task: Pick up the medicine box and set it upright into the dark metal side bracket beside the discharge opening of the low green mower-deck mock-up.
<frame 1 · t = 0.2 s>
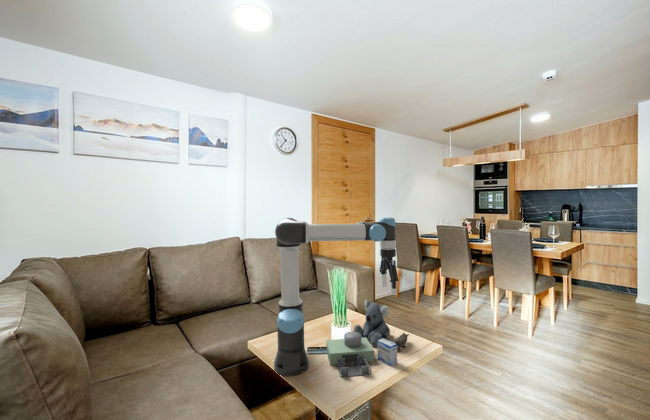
hand: (388, 290, 148), 27 cm above the table, fingers open, 13 cm apart
medicine box: (387, 361, 133), on the table
koala plush: (374, 338, 156), on the table
rhino figurine: (402, 346, 147), on the table
chute bracket: (352, 370, 126), on the table
mower deck: (349, 355, 139), on the table
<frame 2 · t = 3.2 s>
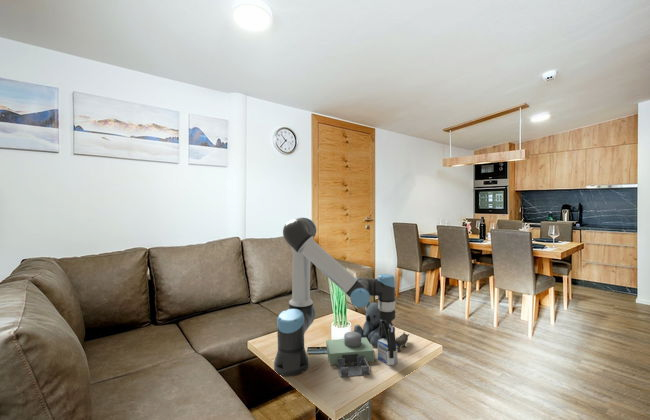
hand: (387, 358, 133), 1 cm above the table, fingers closed on medicine box, 9 cm apart
medicine box: (387, 361, 134), on the table, touching gripper
everything else where it was.
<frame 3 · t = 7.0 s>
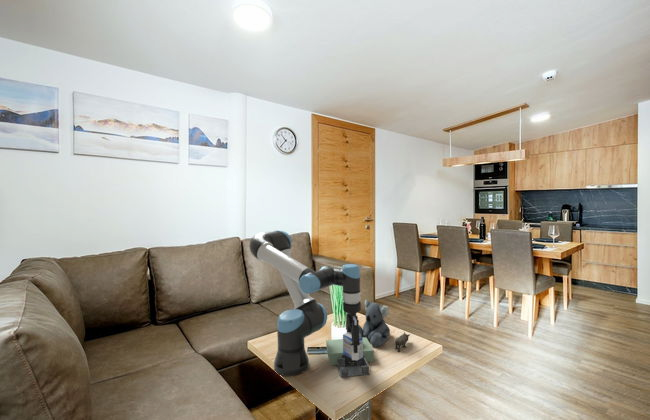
hand: (352, 353, 126), 7 cm above the table, fingers closed on medicine box, 9 cm apart
medicine box: (352, 356, 126), point 6 cm above the table, touching gripper
everything else where it was.
when the fingers open (3 cm above the table, at t = 8.3 s): medicine box stays where it is, point 2 cm above the table.
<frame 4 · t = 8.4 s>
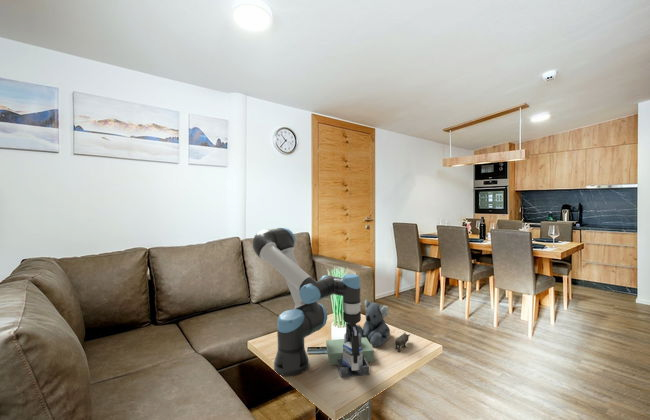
hand: (352, 363, 126), 3 cm above the table, fingers open, 9 cm apart
medicine box: (352, 366, 127), point 2 cm above the table
everything else where it was.
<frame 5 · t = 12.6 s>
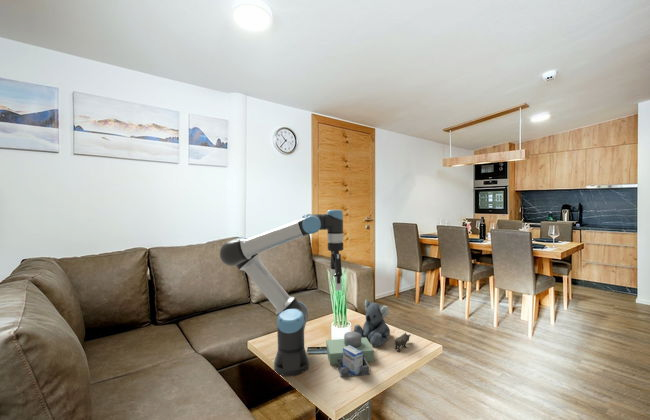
hand: (336, 286, 142), 32 cm above the table, fingers open, 13 cm apart
medicine box: (352, 369, 126), resting on chute bracket
everything else where it was.
at the end: medicine box inside the target area on the chute bracket (0.2 cm from its centre), point 0.1 cm above the chute bracket's base; medicine box tilted 0°; the gripper is holding nothing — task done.
